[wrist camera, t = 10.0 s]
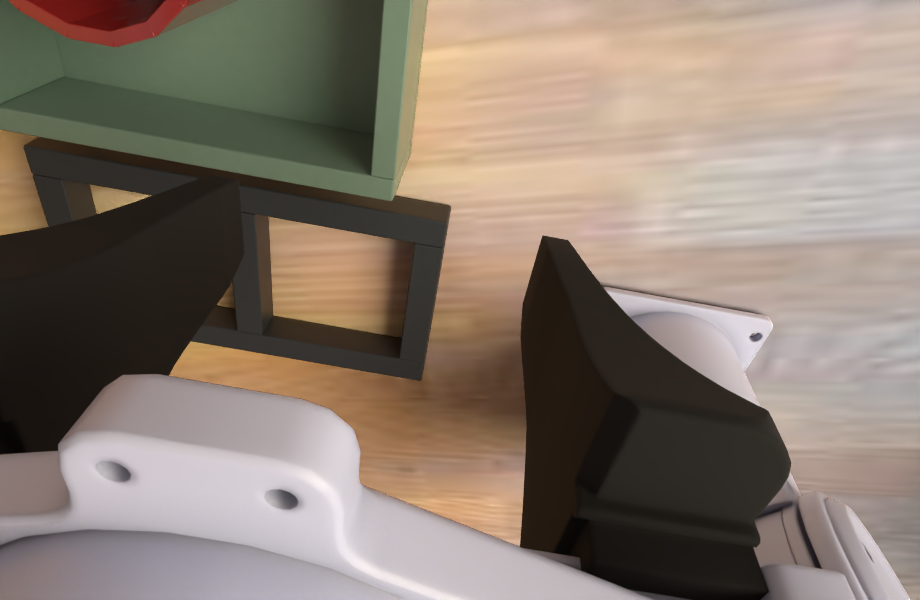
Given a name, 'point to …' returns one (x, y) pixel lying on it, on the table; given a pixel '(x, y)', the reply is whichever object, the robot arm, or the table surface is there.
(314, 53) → the basin
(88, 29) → the cup
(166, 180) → the frame
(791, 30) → the table surface
